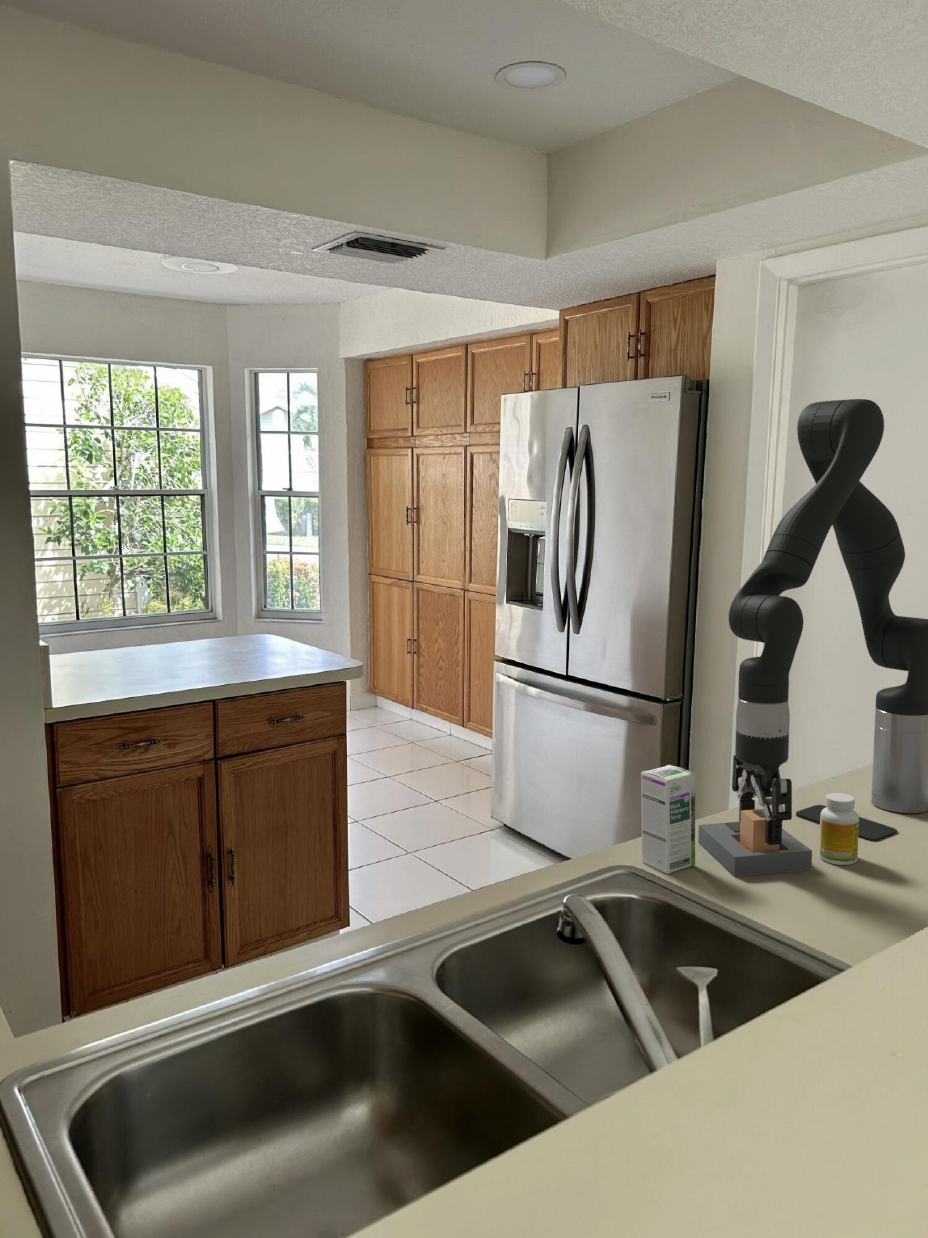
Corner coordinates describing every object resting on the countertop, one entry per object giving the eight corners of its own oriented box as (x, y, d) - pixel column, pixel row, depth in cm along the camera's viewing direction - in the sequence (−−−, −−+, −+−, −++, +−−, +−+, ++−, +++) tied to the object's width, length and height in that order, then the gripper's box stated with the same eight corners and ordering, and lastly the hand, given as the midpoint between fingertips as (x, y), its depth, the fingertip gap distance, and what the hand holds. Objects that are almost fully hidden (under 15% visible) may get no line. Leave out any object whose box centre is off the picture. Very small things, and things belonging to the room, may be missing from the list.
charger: (765, 852, 140) (766, 807, 139) (778, 863, 136) (780, 817, 135) (739, 854, 139) (740, 809, 138) (752, 865, 135) (753, 819, 134)
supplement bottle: (860, 867, 135) (863, 804, 133) (822, 865, 136) (824, 802, 134) (853, 852, 140) (855, 792, 139) (816, 850, 141) (818, 790, 140)
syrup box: (667, 875, 133) (668, 779, 131) (639, 862, 138) (640, 769, 136) (695, 866, 136) (697, 772, 134) (667, 853, 141) (668, 762, 139)
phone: (873, 840, 144) (792, 812, 156) (873, 845, 144) (792, 817, 156) (900, 830, 148) (819, 803, 160) (900, 834, 148) (819, 808, 160)
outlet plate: (769, 837, 147) (769, 818, 146) (811, 870, 134) (812, 849, 134) (698, 842, 145) (698, 823, 145) (734, 876, 132) (734, 855, 132)
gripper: (811, 739, 128) (807, 849, 131) (763, 715, 142) (760, 815, 145) (761, 743, 127) (758, 854, 130) (717, 718, 141) (715, 818, 143)
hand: (759, 833), depth 137 cm, fingers open, 8 cm apart
